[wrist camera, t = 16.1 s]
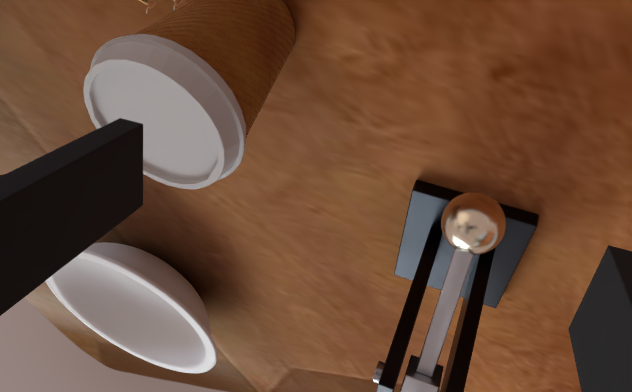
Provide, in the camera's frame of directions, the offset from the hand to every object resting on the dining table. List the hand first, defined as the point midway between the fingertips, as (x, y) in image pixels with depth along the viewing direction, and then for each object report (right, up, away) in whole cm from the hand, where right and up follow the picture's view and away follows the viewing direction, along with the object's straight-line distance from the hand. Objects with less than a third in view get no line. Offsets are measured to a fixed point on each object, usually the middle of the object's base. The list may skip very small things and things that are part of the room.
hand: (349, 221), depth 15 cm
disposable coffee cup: (-5, +13, +22) cm, 26 cm away
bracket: (+11, -3, +29) cm, 31 cm away
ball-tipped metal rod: (+8, -6, +20) cm, 22 cm away
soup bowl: (-21, -9, +54) cm, 59 cm away
